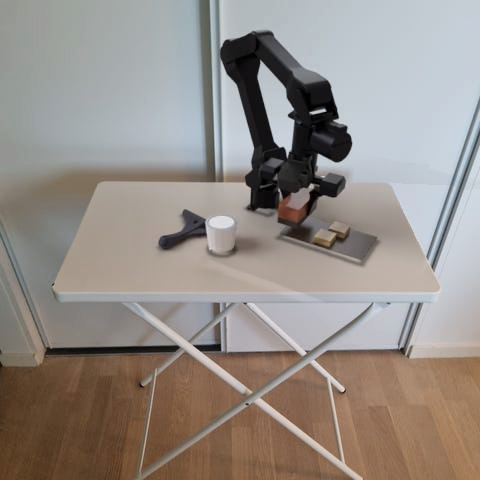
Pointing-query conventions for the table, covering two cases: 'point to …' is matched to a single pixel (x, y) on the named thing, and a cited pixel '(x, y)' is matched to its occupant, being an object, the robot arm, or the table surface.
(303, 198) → the reddish orange block
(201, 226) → the bracket
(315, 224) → the board
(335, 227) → the cork bit
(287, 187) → the robot arm
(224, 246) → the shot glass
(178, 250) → the table surface
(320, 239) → the cork bit
